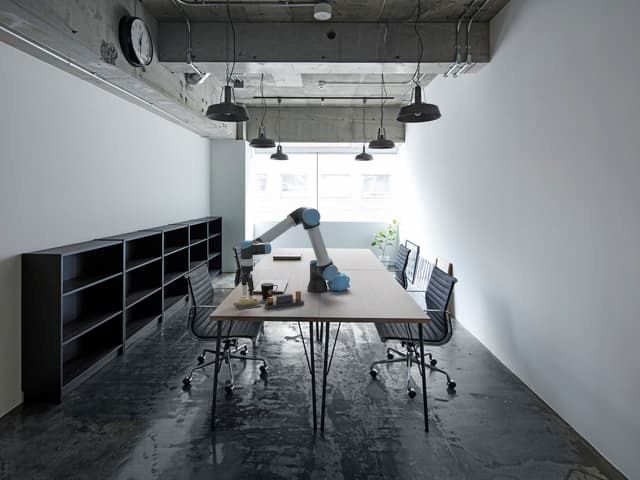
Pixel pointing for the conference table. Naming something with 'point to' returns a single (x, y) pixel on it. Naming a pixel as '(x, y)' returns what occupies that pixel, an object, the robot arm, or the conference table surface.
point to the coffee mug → (267, 290)
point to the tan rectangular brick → (247, 301)
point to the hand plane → (284, 301)
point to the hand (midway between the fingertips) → (247, 298)
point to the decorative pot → (339, 282)
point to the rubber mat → (247, 306)
